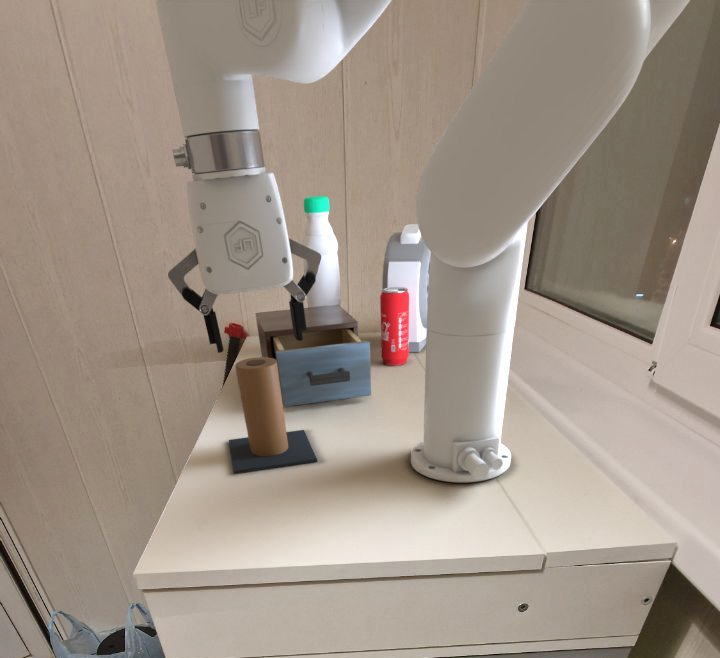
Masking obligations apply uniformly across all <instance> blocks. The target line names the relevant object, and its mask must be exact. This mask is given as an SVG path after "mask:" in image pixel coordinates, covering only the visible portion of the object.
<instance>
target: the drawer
mask: <svg viewBox="0 0 720 658" xmlns="http://www.w3.org/2000/svg"><path fill="white" fill-rule="evenodd" d="M302 335H303V341H298V340H296V338H295V337H294V334H289V335H280V336H271V341H272V349H273V356H274V359H275V360H276V361H277V366H278V374H279V381H280V389H281V396H282V403H283V408H284V407H293V406H301V405H307V404H316V403H325V402H330V401H331V402H332V401H339V400H346V399H354V398H355V399H356V398H362V397H369V396H370V397H371V396H372V376H371V374H372V373H371V345H370V342H369V341H368V340H363V341H362V339H360V338H358V337H359V336H358V337H357V336H356V335H355V334H354V333H353V332H352V331H351V330H350V329H349V328H344V329H335V330H326V331H316V332H307V333H302Z"/></svg>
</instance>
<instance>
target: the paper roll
mask: <svg viewBox="0 0 720 658" xmlns="http://www.w3.org/2000/svg"><path fill="white" fill-rule="evenodd" d="M234 366H235V367H234V368H235V372H236V377H237V378H236V379H237V383H238V388H239V394H240V400H241V404H242V410H243V415H244V422H245V427H246V432H247V433H246V434H247V437H248V438H249V444H250V449H251V452H252V453H253V454H255V455H258V456H274V455H278V454H281V453H283V452H285V451H286V450H287V449H288V440H287V433H286V432H287V426H286V419H285V418H286V417H285V411H284V406H283V403H282V396H281V389H280V381H279V374H278V366H277V361H276V360H275V359H273V358H268V357H262V356H259V357H257V356H255V357H249V358H244V359H241V360H239V361H237V362H236V363H235V365H234Z"/></svg>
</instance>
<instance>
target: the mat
mask: <svg viewBox="0 0 720 658" xmlns="http://www.w3.org/2000/svg"><path fill="white" fill-rule="evenodd" d="M286 433H287V440H288V449H287V450H286V451H285V452H283V453H281V454H278V455H274V456H258V455H255V454H253V453H252V452H251V449H250V444H249V438H248V436H247V437H241V438H240V437H239V438H233V439H228V445H229V452H230V457H231V464H232V470H233V474H241V473H248V472H255V471H256V472H257V471H262V470H269V469H275V468H283V467H291V466H296V465H297V466H298V465H304V464H310V463H317V462H318V458H317V456H316V453H315V452H314V449H313V447H312V444H311V442H310V440H309V438H308V435H307V433H306V431H305V429H300V430H292V431H286Z"/></svg>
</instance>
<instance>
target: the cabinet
mask: <svg viewBox="0 0 720 658" xmlns="http://www.w3.org/2000/svg"><path fill="white" fill-rule="evenodd" d="M304 313H305V320H306V331H302V333H307V332H316V331H326V330H335V329H344V328H349V329H350V330H351V331H352V332H353V333H354V334H355V335H356V336H357V337H358V338H359V322H358V320H357V319H356V318H354V317H353V316H352V315H351V314H350V313H349V312H348V311H347V310H345V309H344V308H343V307H342V305H341V306H340V305H329V306H319V307H309V308H308V307H304ZM255 319H256V326H257V333H258V341H259V345H260V353H261V357H268V358H273V359H274V356H273V349H272V341H271V336H280V335H289V334H294V333H293V326H292V319H291V312H290V309H281V310H280V309H279V310H272V311H260V312H255ZM359 339H360V338H359Z"/></svg>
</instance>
